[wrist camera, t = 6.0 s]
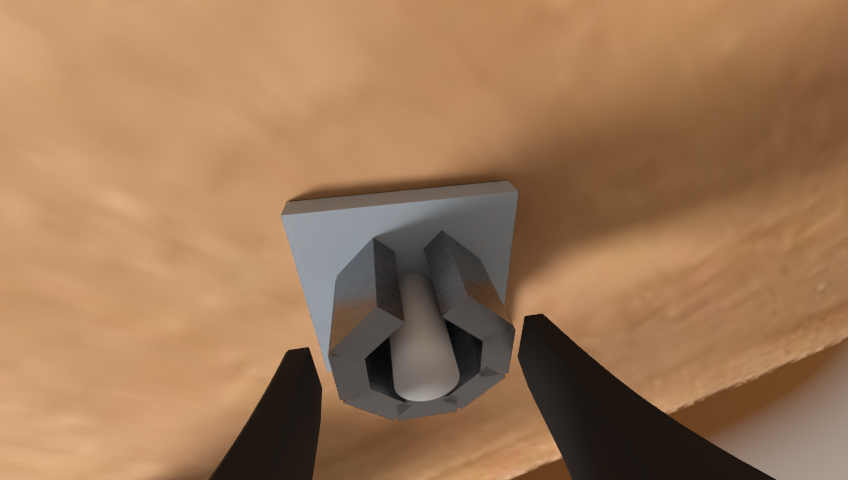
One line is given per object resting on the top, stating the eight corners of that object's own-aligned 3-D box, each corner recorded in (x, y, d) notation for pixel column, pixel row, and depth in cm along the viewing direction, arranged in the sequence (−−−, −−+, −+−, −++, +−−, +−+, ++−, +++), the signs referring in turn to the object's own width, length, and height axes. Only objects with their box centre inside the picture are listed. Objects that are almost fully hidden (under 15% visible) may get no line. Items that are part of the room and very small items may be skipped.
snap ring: (476, 330, 15) (503, 403, 12) (350, 349, 15) (348, 429, 12) (484, 225, 12) (522, 287, 9) (327, 242, 12) (316, 314, 9)
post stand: (492, 330, 17) (535, 429, 13) (329, 354, 16) (318, 469, 12) (508, 180, 13) (580, 257, 9) (286, 201, 12) (245, 299, 8)
